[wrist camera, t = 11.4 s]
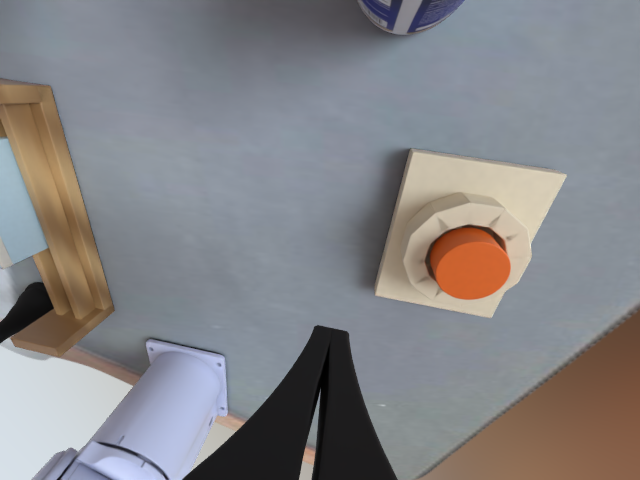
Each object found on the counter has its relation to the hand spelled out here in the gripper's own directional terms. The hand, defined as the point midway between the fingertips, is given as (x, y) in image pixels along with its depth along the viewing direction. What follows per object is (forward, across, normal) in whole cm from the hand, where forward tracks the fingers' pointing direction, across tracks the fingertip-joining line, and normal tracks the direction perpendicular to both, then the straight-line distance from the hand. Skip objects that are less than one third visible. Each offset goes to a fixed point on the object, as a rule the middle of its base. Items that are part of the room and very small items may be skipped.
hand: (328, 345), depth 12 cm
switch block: (+9, -7, -2) cm, 12 cm away
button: (+7, -7, -2) cm, 10 cm away
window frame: (+9, +22, +2) cm, 24 cm away
